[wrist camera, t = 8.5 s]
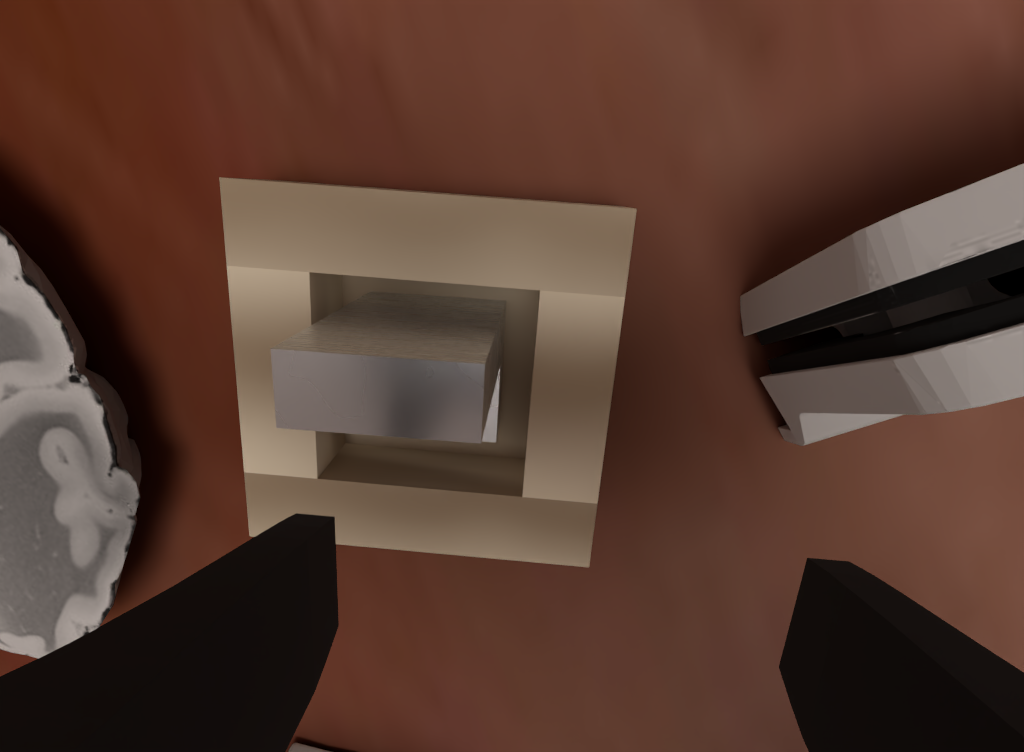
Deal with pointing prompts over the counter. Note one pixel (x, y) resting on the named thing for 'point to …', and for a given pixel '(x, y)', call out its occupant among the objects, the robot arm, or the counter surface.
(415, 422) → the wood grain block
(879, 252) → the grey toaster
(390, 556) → the counter surface
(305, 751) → the skincare box
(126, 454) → the brain slice
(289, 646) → the robot arm
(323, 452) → the well block
